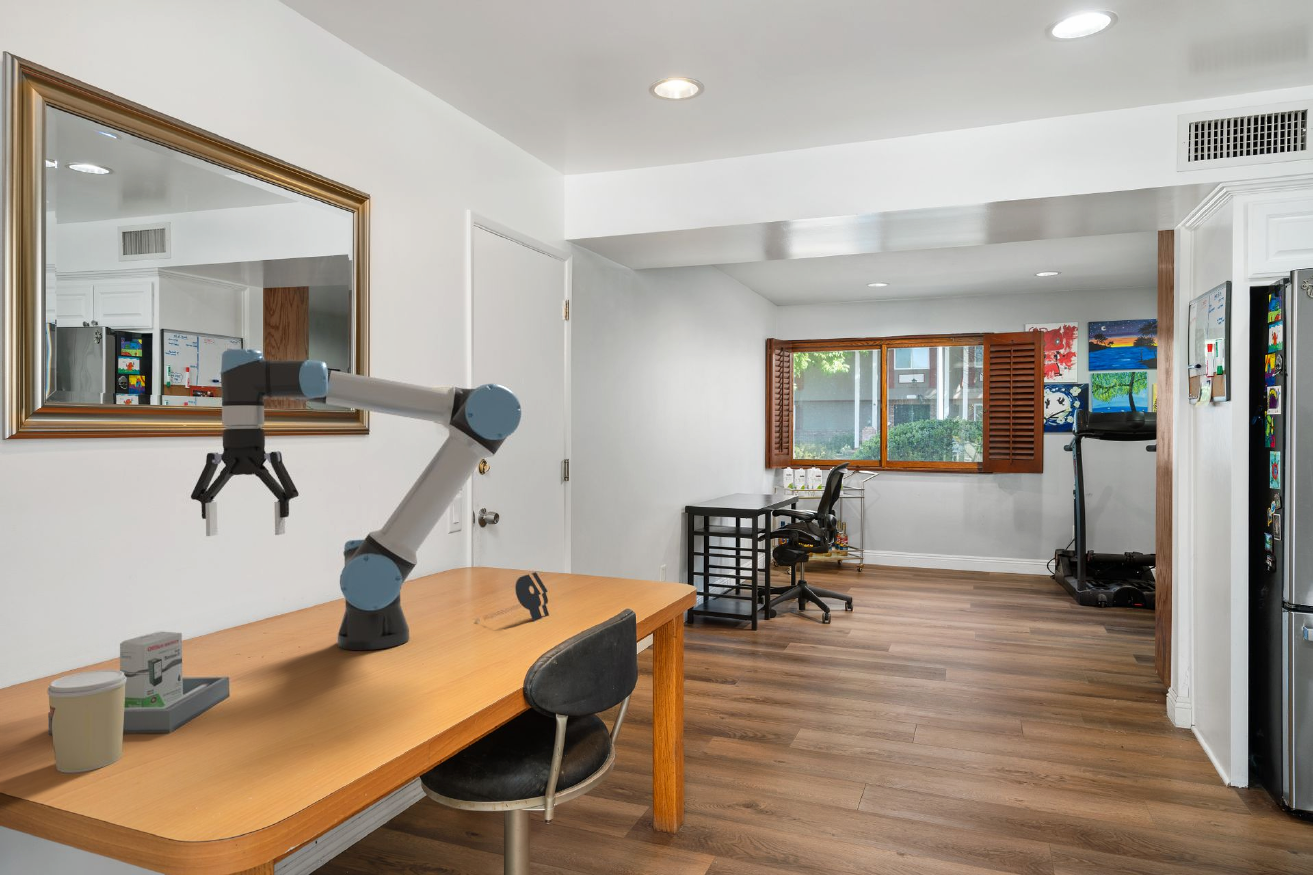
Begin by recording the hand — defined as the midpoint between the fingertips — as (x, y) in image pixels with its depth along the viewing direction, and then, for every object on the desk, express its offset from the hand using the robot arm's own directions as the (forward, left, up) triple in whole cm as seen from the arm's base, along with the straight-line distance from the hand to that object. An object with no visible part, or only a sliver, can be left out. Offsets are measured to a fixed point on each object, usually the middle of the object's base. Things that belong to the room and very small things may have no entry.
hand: (246, 535), depth 165 cm
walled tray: (+4, +26, -27) cm, 38 cm away
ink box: (+4, +24, -26) cm, 36 cm away
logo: (-48, -40, -27) cm, 68 cm away
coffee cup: (0, +46, -27) cm, 53 cm away
